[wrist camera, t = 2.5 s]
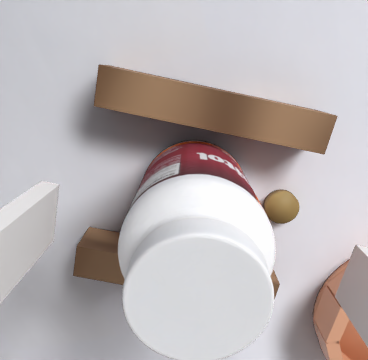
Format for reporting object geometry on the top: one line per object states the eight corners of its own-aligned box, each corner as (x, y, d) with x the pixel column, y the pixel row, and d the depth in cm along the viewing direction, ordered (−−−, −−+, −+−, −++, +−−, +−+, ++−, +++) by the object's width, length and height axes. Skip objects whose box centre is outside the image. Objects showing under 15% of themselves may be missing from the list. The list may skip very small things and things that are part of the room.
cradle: (85, 253, 22) (73, 275, 20) (110, 65, 18) (98, 64, 16) (268, 288, 23) (278, 313, 20) (327, 112, 19) (347, 118, 17)
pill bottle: (264, 193, 21) (343, 317, 10) (188, 250, 22) (187, 413, 11) (200, 115, 19) (214, 166, 9) (122, 181, 21) (54, 294, 10)
